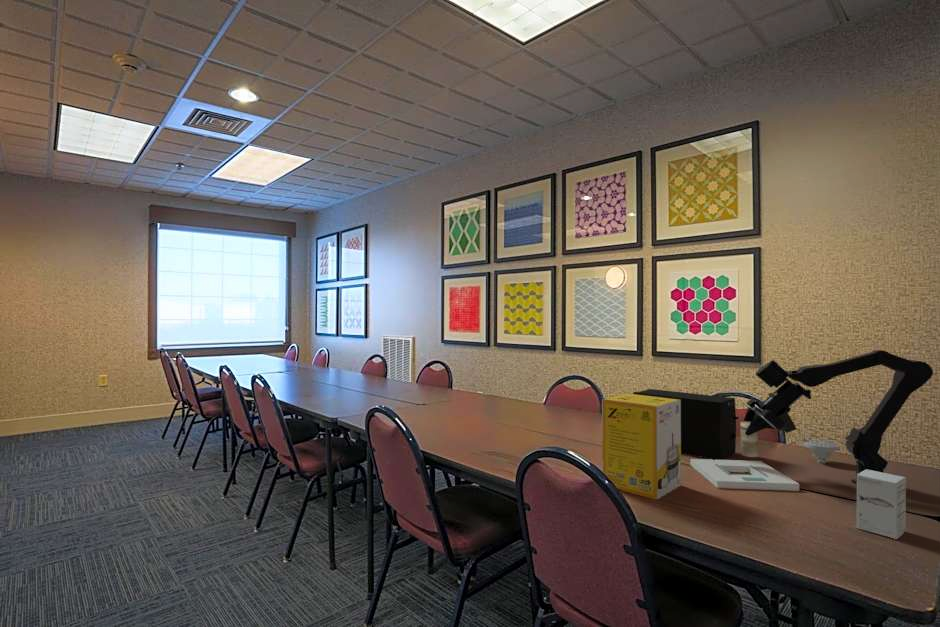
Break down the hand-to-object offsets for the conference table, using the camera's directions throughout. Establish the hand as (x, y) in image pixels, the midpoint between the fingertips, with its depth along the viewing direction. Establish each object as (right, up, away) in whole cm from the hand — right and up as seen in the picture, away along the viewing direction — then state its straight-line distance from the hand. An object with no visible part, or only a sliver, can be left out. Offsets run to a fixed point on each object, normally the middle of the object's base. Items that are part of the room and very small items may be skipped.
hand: (744, 432), depth 151 cm
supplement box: (+7, -12, -42) cm, 44 cm away
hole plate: (-4, -13, -4) cm, 14 cm away
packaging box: (-37, -13, -12) cm, 41 cm away
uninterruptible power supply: (-6, -13, +28) cm, 32 cm away
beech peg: (+2, -7, 0) cm, 7 cm away
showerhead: (+32, -13, +11) cm, 36 cm away
